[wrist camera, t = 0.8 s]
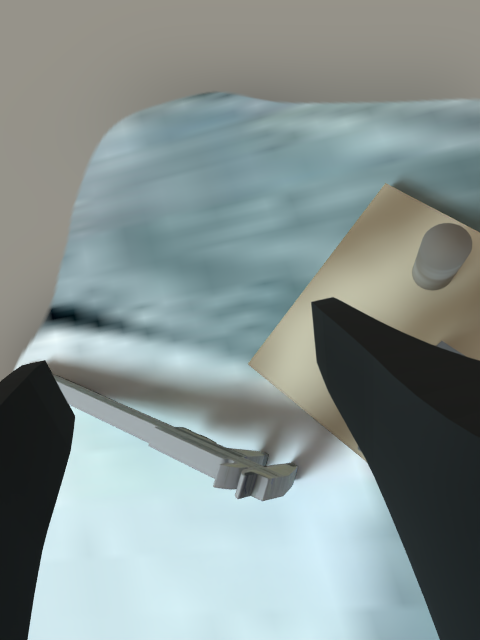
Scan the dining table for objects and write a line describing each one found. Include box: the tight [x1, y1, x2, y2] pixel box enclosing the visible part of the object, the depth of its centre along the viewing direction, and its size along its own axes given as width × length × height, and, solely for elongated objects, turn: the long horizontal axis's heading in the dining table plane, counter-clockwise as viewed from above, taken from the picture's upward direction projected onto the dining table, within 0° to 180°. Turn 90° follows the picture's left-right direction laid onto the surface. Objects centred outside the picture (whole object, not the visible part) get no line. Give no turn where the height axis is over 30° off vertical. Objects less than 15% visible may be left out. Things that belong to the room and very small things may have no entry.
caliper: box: [53, 374, 298, 501], centre depth 23 cm, size 21×1×6 cm, turn 73°
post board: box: [248, 183, 480, 462], centre depth 19 cm, size 14×13×5 cm
